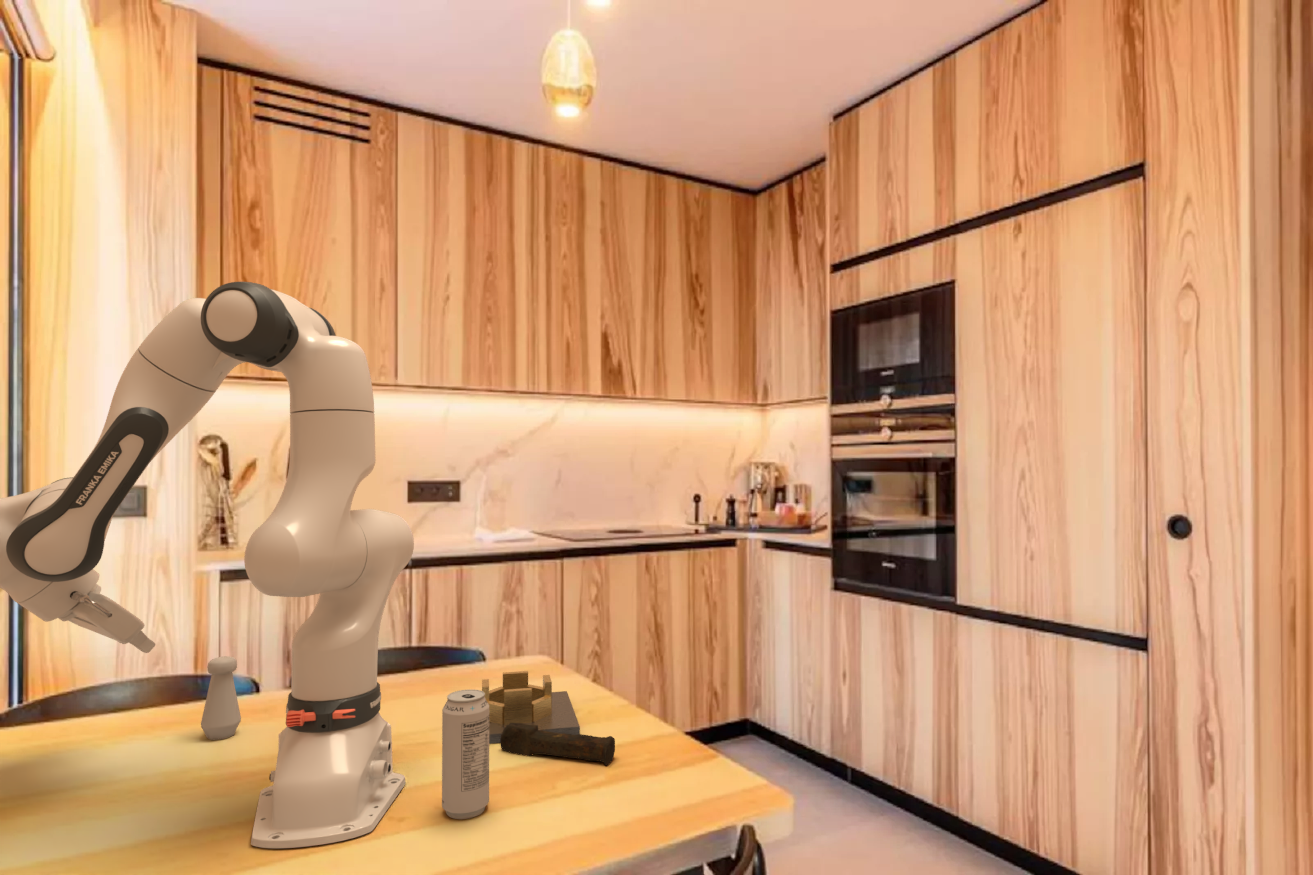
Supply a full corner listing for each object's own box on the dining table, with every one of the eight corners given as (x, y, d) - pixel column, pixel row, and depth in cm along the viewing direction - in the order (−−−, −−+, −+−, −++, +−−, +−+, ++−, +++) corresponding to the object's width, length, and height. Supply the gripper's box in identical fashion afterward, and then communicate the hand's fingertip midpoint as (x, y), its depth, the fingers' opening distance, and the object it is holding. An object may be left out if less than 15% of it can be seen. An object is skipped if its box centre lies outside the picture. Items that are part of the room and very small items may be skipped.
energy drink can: (470, 795, 101) (471, 685, 102) (498, 808, 98) (498, 693, 98) (432, 811, 97) (433, 696, 97) (460, 825, 93) (460, 705, 93)
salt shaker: (209, 744, 121) (210, 664, 121) (194, 737, 124) (196, 659, 125) (246, 734, 125) (248, 656, 126) (231, 727, 129) (232, 652, 129)
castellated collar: (579, 735, 124) (579, 693, 124) (456, 746, 119) (456, 702, 119) (566, 698, 143) (566, 662, 143) (460, 707, 138) (460, 669, 139)
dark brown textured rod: (617, 759, 114) (617, 728, 115) (607, 769, 111) (607, 737, 111) (509, 745, 120) (509, 716, 121) (496, 754, 117) (496, 724, 117)
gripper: (105, 579, 104) (181, 636, 111) (61, 567, 116) (132, 619, 124) (65, 616, 100) (147, 672, 108) (24, 600, 113) (99, 652, 120)
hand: (138, 644), depth 116 cm, fingers open, 8 cm apart
